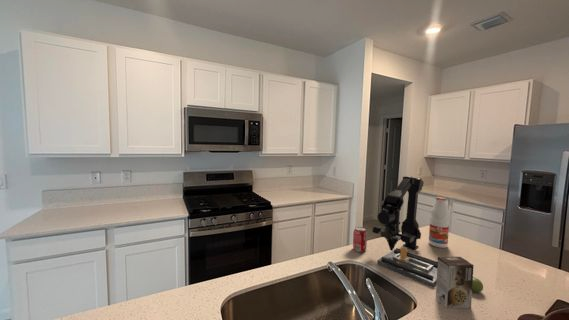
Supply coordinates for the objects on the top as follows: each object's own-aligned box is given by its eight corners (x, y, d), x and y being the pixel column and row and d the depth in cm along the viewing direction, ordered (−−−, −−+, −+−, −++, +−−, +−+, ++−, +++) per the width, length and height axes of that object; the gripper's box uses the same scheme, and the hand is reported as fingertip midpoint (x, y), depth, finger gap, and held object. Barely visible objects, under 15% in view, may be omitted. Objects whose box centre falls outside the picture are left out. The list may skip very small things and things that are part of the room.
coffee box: (457, 297, 91) (460, 256, 90) (471, 308, 84) (475, 264, 83) (434, 297, 90) (437, 256, 89) (446, 308, 84) (449, 264, 83)
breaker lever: (400, 257, 118) (401, 245, 117) (408, 260, 115) (409, 248, 114) (397, 259, 116) (398, 247, 115) (406, 262, 113) (406, 250, 112)
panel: (395, 252, 128) (396, 246, 128) (448, 271, 110) (448, 264, 109) (377, 264, 115) (377, 257, 114) (433, 287, 97) (433, 279, 96)
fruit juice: (447, 244, 140) (450, 197, 138) (447, 249, 132) (450, 200, 131) (429, 240, 145) (431, 195, 144) (427, 245, 138) (430, 197, 136)
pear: (474, 281, 92) (452, 271, 102) (475, 295, 91) (453, 284, 101) (486, 279, 93) (463, 270, 103) (487, 294, 92) (464, 283, 102)
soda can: (364, 247, 133) (365, 226, 132) (367, 253, 126) (368, 231, 125) (351, 246, 134) (352, 226, 133) (354, 252, 127) (355, 230, 126)
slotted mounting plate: (381, 259, 115) (381, 257, 115) (396, 250, 126) (397, 247, 126) (432, 280, 98) (432, 276, 98) (444, 266, 109) (445, 263, 109)
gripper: (367, 218, 120) (366, 248, 121) (405, 228, 106) (403, 262, 107) (378, 214, 127) (377, 242, 128) (415, 223, 113) (413, 255, 114)
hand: (391, 250), depth 119 cm, fingers closed
